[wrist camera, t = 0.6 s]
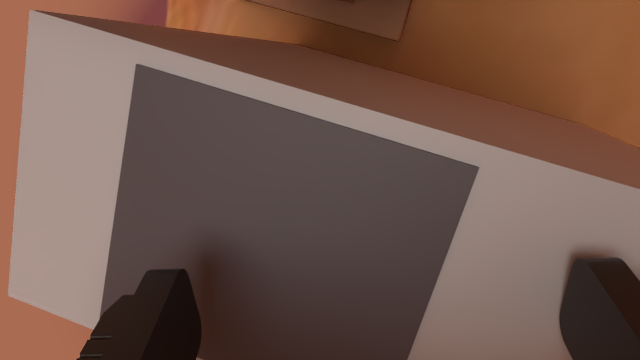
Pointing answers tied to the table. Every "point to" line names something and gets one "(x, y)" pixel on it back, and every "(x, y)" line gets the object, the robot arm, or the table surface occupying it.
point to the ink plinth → (304, 197)
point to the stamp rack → (352, 13)
